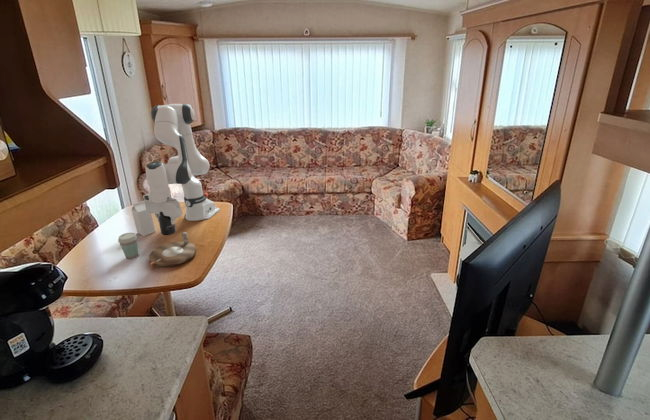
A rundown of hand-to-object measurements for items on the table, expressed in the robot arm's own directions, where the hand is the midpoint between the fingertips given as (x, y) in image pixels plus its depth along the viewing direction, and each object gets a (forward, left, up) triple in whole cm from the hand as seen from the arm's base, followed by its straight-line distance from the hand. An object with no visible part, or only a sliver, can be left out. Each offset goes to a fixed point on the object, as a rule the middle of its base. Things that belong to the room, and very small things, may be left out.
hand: (166, 222), depth 177 cm
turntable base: (+2, 0, -19) cm, 19 cm away
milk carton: (-15, -36, -19) cm, 44 cm away
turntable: (0, 0, -18) cm, 18 cm away
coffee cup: (+8, -20, -19) cm, 29 cm away
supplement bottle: (0, 0, -6) cm, 6 cm away
